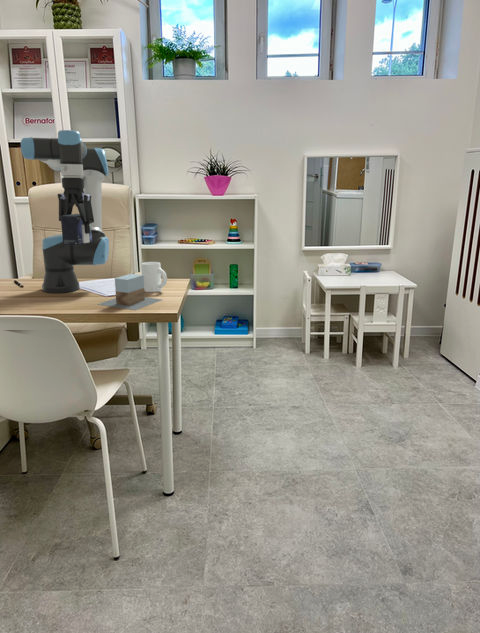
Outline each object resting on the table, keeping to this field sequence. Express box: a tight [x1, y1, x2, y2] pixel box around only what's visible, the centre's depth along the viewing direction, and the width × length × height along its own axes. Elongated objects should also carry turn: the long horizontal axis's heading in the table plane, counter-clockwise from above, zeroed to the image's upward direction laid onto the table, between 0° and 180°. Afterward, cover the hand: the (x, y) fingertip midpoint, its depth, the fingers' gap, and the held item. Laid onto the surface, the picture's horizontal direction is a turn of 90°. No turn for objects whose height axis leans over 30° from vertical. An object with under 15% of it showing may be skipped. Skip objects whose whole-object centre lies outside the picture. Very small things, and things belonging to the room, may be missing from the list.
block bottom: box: [115, 288, 146, 306], centre depth 186 cm, size 6×10×5 cm, turn 155°
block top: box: [114, 273, 144, 293], centre depth 185 cm, size 6×10×5 cm, turn 155°
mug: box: [141, 261, 168, 293], centre depth 205 cm, size 8×12×12 cm
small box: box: [60, 213, 92, 245], centre depth 175 cm, size 11×6×10 cm, turn 168°
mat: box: [97, 296, 164, 311], centre depth 187 cm, size 18×18×1 cm
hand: (78, 241), depth 177 cm, fingers closed on small box, 7 cm apart
